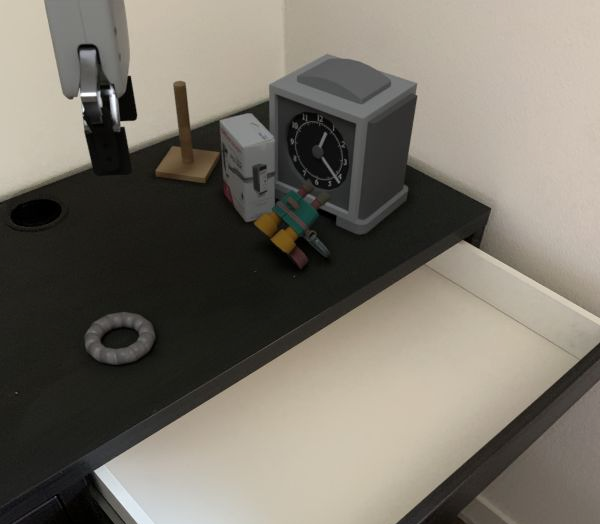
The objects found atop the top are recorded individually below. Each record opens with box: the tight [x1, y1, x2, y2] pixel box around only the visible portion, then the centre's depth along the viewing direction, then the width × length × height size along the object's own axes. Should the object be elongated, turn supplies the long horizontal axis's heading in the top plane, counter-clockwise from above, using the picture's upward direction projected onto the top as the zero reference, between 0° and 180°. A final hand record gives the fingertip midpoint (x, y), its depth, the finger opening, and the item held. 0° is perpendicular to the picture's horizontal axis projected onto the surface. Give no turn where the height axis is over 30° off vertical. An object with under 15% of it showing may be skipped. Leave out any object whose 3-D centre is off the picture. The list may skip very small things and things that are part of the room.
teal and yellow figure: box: [253, 179, 331, 270], centre depth 87 cm, size 9×9×10 cm
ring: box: [83, 311, 157, 366], centre depth 77 cm, size 8×8×2 cm
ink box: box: [219, 112, 276, 223], centre depth 94 cm, size 9×5×12 cm, turn 27°
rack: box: [154, 80, 221, 184], centre depth 100 cm, size 8×8×13 cm
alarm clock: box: [268, 53, 418, 235], centre depth 94 cm, size 18×13×18 cm
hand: (117, 145), depth 60 cm, fingers open, 9 cm apart
